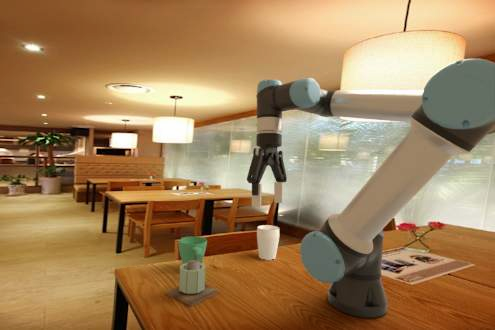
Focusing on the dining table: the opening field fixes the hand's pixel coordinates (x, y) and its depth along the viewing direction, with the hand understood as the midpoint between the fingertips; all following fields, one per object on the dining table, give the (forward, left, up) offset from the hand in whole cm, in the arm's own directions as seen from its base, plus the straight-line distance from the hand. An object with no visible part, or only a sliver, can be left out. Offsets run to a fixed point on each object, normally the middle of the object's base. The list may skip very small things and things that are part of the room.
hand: (268, 204), depth 87 cm
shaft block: (+14, +16, -25) cm, 33 cm away
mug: (+26, +4, -25) cm, 37 cm away
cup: (+15, -25, -25) cm, 39 cm away
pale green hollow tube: (+14, +16, -24) cm, 32 cm away
